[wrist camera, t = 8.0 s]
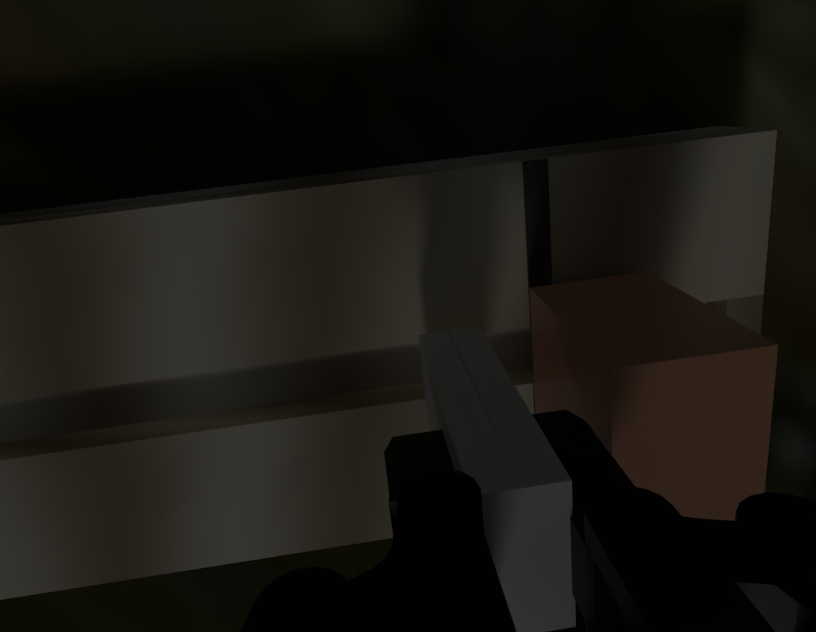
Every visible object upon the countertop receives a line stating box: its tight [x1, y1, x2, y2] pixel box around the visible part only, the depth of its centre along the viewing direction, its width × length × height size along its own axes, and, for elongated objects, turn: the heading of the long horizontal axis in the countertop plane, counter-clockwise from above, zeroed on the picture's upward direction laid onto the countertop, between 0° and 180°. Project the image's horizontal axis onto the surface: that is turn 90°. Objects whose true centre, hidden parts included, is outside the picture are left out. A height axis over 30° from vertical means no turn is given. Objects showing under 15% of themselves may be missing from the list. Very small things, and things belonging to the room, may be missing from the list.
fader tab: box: [530, 272, 778, 521], centre depth 15 cm, size 3×4×6 cm
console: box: [0, 126, 777, 600], centre depth 17 cm, size 24×10×3 cm, turn 96°
